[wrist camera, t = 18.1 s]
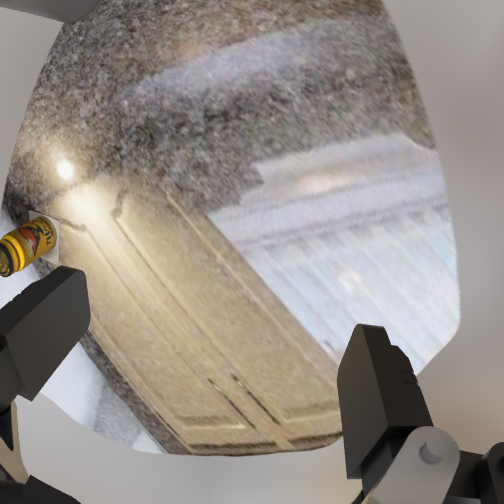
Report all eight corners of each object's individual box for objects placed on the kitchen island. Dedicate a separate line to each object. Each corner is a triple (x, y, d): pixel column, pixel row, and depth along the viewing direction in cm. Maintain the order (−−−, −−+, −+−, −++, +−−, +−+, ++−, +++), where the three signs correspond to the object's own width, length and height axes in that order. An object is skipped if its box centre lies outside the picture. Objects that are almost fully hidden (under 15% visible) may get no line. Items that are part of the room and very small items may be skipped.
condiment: (60, 220, 45) (12, 248, 34) (59, 265, 49) (17, 299, 38) (30, 209, 45) (-18, 233, 34) (30, 252, 49) (-12, 282, 38)
